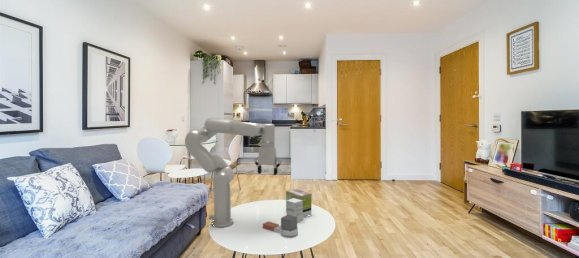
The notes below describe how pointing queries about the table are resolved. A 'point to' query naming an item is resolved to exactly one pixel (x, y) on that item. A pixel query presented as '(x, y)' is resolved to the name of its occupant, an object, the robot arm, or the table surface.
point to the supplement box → (295, 208)
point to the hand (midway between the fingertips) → (267, 174)
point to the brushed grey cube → (289, 223)
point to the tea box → (301, 196)
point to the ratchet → (278, 229)
